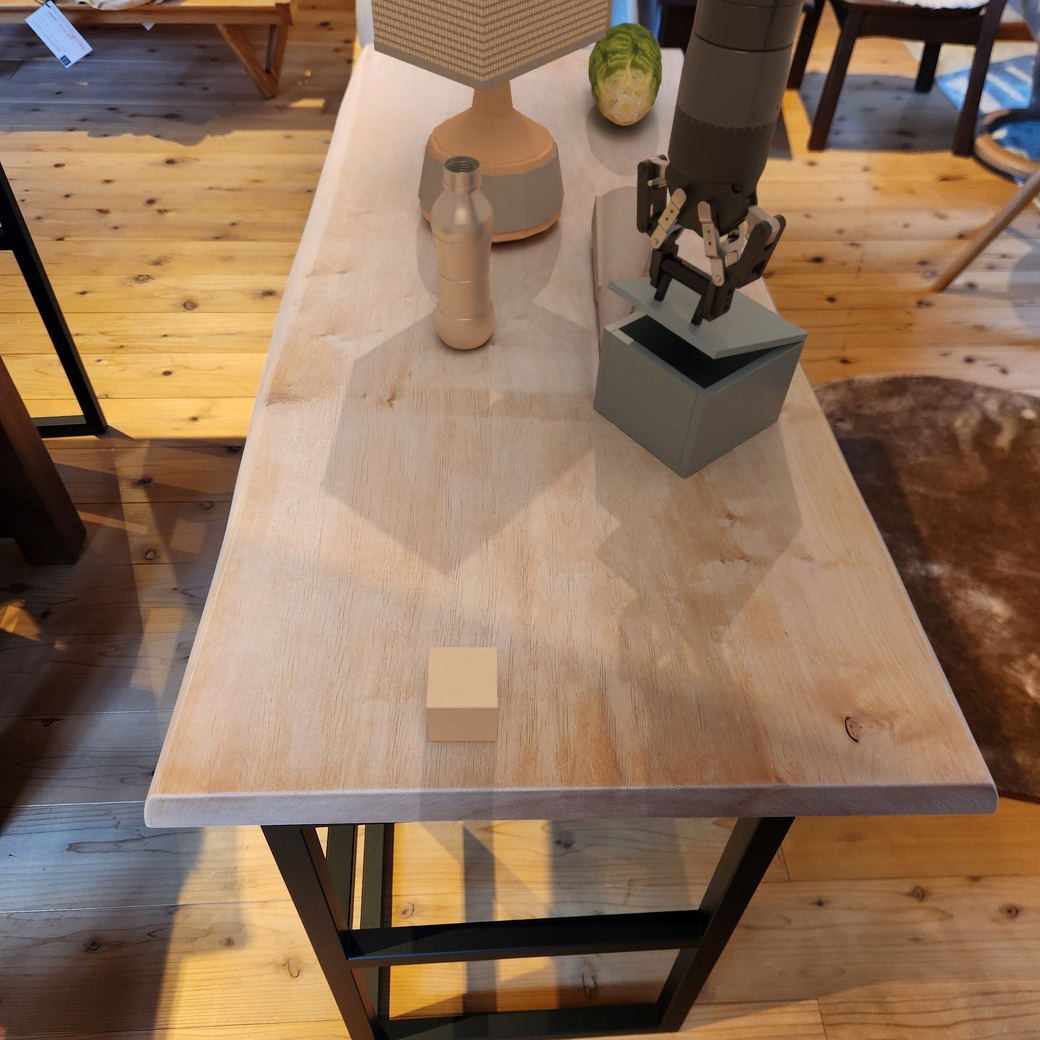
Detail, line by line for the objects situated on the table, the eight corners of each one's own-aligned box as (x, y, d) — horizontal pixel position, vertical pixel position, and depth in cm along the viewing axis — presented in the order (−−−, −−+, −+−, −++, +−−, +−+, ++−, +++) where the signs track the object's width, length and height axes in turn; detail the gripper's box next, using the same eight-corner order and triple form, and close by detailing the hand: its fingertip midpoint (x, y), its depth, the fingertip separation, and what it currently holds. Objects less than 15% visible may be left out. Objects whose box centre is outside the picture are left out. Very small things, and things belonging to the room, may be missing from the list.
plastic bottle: (505, 334, 96) (510, 160, 81) (471, 365, 92) (469, 188, 77) (459, 314, 98) (454, 142, 83) (423, 344, 94) (412, 168, 79)
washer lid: (713, 359, 70) (738, 304, 68) (606, 287, 77) (624, 234, 74) (805, 340, 80) (830, 291, 77) (703, 278, 86) (722, 231, 83)
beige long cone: (686, 335, 89) (666, 187, 104) (604, 331, 89) (596, 183, 104) (671, 387, 96) (655, 240, 110) (594, 383, 95) (588, 237, 110)
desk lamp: (490, 166, 122) (493, -154, 95) (597, 212, 115) (633, -122, 87) (381, 222, 111) (349, -123, 83) (491, 277, 103) (496, -84, 76)
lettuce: (583, 143, 128) (591, 64, 120) (585, 88, 142) (592, 13, 133) (659, 148, 128) (672, 69, 119) (654, 92, 142) (665, 17, 133)
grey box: (684, 479, 81) (705, 399, 74) (592, 407, 88) (603, 327, 80) (778, 420, 87) (805, 340, 80) (685, 357, 94) (703, 278, 86)
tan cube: (496, 682, 66) (497, 646, 62) (496, 741, 63) (497, 707, 59) (432, 682, 66) (429, 646, 62) (428, 741, 62) (425, 707, 59)
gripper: (840, 124, 60) (777, 324, 73) (691, 59, 67) (656, 252, 80) (773, 150, 57) (719, 356, 69) (623, 80, 64) (598, 278, 76)
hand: (685, 299), depth 74 cm, fingers closed on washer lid, 5 cm apart
